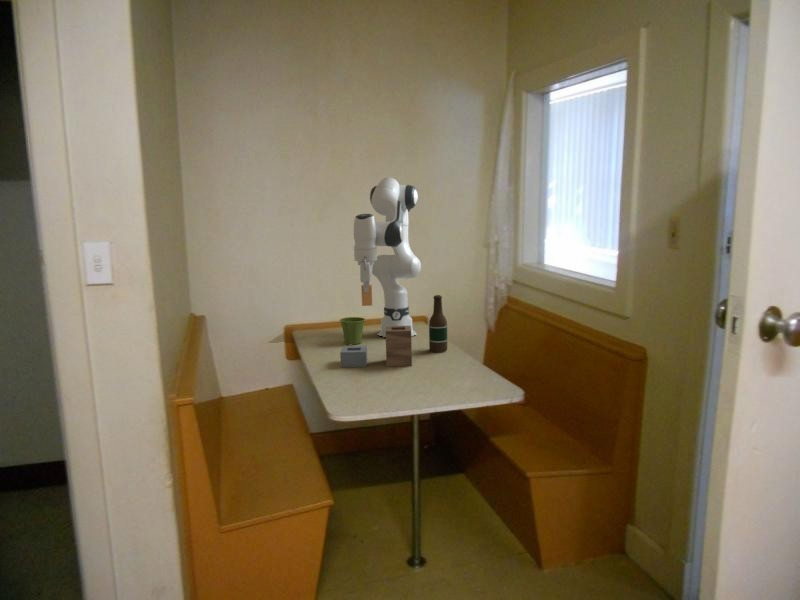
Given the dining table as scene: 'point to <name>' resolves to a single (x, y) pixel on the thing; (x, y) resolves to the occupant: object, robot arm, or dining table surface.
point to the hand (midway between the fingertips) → (366, 291)
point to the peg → (367, 296)
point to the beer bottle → (438, 327)
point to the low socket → (353, 356)
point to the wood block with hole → (398, 346)
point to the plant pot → (352, 329)
